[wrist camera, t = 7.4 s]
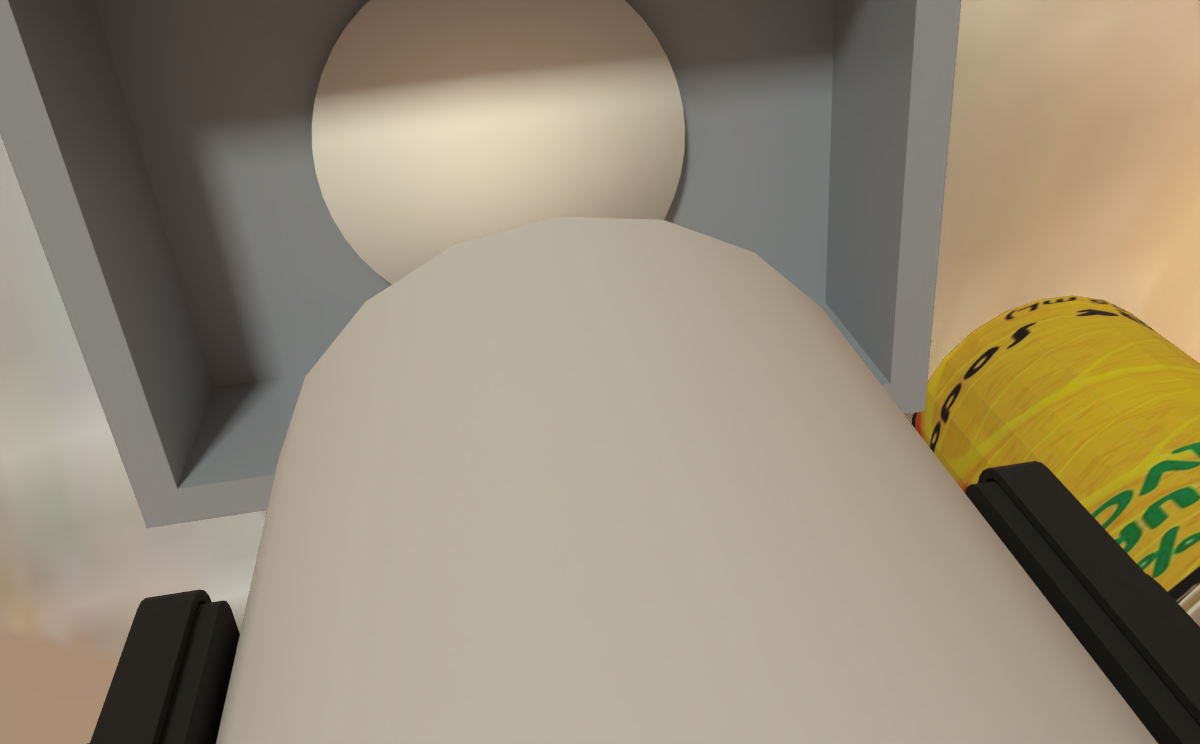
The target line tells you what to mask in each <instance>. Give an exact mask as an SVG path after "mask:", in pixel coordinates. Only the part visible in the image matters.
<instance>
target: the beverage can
mask: <svg viewBox="0 0 1200 744" xmlns="http://www.w3.org/2000/svg"><path fill="white" fill-rule="evenodd" d="M912 425H913V427H914V428H915V429H916V431H917V432H918V433H919V434H920V436H921V437H922V438H923V440H924V441H925V442H926V444H927V445H928V446H929V447H930V449H931V450H932V451H933V453H934V454H935V455H936V456H937V458H938V459H939V460H940V462H941V463H942V464H943V466H944V467H945V468H946V469H947V471H948V472H949V473H950V475H951V476H952V477H953V479H954V480H955V481H956V482H957V484H958V485H959V486H960V488H961V489H962V490H963V491H964V493H965V490H966V488H967V487H968V486H969V485H971V484H977V483H978V479H979V476H980V474H981V473H982V471H983V470H985V469H987V468H992V467H999V466H1005V465H1012V464H1018V463H1025V462H1031V461H1037V462H1041V463H1043V464H1044V465H1045V466H1046V467H1048V468H1049V469H1050V471H1051V472H1052V473H1053V474H1054V475H1055V476H1056V477H1057V478H1058V479H1059V480H1060V481H1061V482H1062V484H1063V485H1064V486H1065V487H1066V488H1067V489H1068V490H1069V491H1070V492H1071V493H1072V494H1073V495H1074V496H1075V498H1076V499H1077V500H1078V501H1079V502H1080V503H1081V504H1082V505H1083V506H1084V507H1085V508H1086V509H1087V511H1088V512H1089V513H1090V514H1091V515H1092V516H1093V517H1094V518H1095V519H1096V520H1097V521H1098V522H1099V523H1100V525H1101V526H1102V527H1103V528H1104V529H1105V530H1106V531H1107V532H1108V533H1109V534H1110V535H1111V536H1112V538H1113V539H1114V540H1115V541H1116V542H1117V543H1118V544H1119V545H1120V546H1121V547H1122V548H1123V549H1124V550H1125V552H1126V553H1127V554H1128V555H1129V556H1130V557H1131V558H1132V559H1133V560H1134V561H1135V562H1136V563H1137V565H1138V566H1139V567H1140V568H1141V569H1142V570H1143V571H1144V572H1145V573H1146V574H1148V575H1150V576H1151V577H1152V578H1153V579H1154V580H1156V581H1157V582H1158V583H1159V584H1160V585H1161V586H1162V587H1163V588H1164V589H1165V590H1166V591H1167V592H1168V593H1169V594H1170V595H1171V596H1172V597H1173V599H1174V600H1175V601H1176V602H1177V603H1178V604H1179V605H1180V606H1181V607H1182V608H1183V609H1184V610H1185V611H1186V613H1187V614H1188V615H1189V616H1190V617H1191V618H1192V619H1193V620H1194V621H1195V622H1196V623H1197V624H1198V625H1199V626H1200V363H1198V362H1197V361H1196V360H1194V359H1193V358H1191V357H1190V356H1189V355H1187V354H1186V353H1185V352H1183V351H1182V350H1180V349H1179V348H1178V347H1176V346H1175V345H1174V344H1172V343H1171V342H1169V341H1168V340H1167V339H1165V338H1164V337H1163V336H1161V335H1160V334H1159V333H1157V332H1156V331H1154V330H1153V329H1152V328H1150V327H1149V326H1148V325H1146V324H1145V323H1143V322H1142V321H1141V320H1139V319H1138V318H1137V317H1135V316H1134V315H1132V314H1131V313H1130V312H1128V311H1126V310H1124V309H1121V308H1119V307H1117V306H1115V305H1113V304H1111V303H1109V302H1107V301H1105V300H1100V299H1093V298H1086V297H1078V296H1066V297H1058V298H1050V299H1042V300H1037V301H1034V302H1031V303H1028V304H1026V305H1023V306H1020V307H1018V308H1015V309H1012V310H1009V311H1007V312H1004V313H1002V314H1000V315H999V316H997V317H996V318H994V319H992V320H991V321H989V322H988V323H986V324H984V325H983V326H981V327H980V328H978V329H976V330H975V331H973V332H972V333H970V334H969V335H968V336H967V337H966V338H965V339H964V340H963V341H962V342H961V343H960V344H959V345H958V346H957V347H956V348H955V349H953V350H952V351H951V352H950V353H949V354H948V355H947V356H946V357H945V358H944V359H943V361H942V362H941V364H940V365H939V367H938V368H937V369H936V371H935V372H934V374H933V375H932V377H931V378H930V380H929V381H928V383H927V391H926V402H925V411H922V412H915V413H914V415H913V418H912Z"/></svg>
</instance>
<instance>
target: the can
mask: <svg viewBox="0 0 1200 744" xmlns="http://www.w3.org/2000/svg"><path fill="white" fill-rule="evenodd" d="M216 744H1158V743H1157V742H1156V740H1155V739H1154V738H1153V736H1152V735H1151V734H1150V733H1149V731H1148V730H1147V729H1146V727H1145V726H1144V725H1143V723H1142V722H1141V721H1140V720H1139V718H1138V717H1137V716H1136V714H1135V713H1134V712H1133V710H1132V709H1131V708H1130V707H1129V705H1128V704H1127V703H1126V701H1125V700H1124V699H1123V698H1122V696H1121V695H1120V694H1119V692H1118V691H1117V690H1116V688H1115V687H1114V686H1113V685H1112V683H1111V682H1110V681H1109V679H1108V678H1107V677H1106V676H1105V674H1104V673H1103V672H1102V670H1101V669H1100V668H1099V666H1098V665H1097V664H1096V663H1095V661H1094V660H1093V659H1092V657H1091V656H1090V655H1089V653H1088V652H1087V651H1086V650H1085V648H1084V647H1083V646H1082V644H1081V643H1080V642H1079V641H1078V639H1077V638H1076V637H1075V635H1074V634H1073V633H1072V631H1071V630H1070V629H1069V628H1068V626H1067V625H1066V624H1065V622H1064V621H1063V620H1062V618H1061V617H1060V616H1059V615H1058V613H1057V612H1056V611H1055V609H1054V608H1053V607H1052V606H1051V604H1050V603H1049V602H1048V600H1047V599H1046V598H1045V596H1044V595H1043V594H1042V593H1041V591H1040V590H1039V589H1038V587H1037V586H1036V585H1035V583H1034V582H1033V581H1032V580H1031V578H1030V577H1029V576H1028V574H1027V573H1026V572H1025V571H1024V569H1023V568H1022V567H1021V565H1020V564H1019V563H1018V561H1017V560H1016V559H1015V558H1014V556H1013V555H1012V554H1011V552H1010V551H1009V550H1008V548H1007V547H1006V546H1005V545H1004V543H1003V542H1002V541H1001V539H1000V538H999V537H998V536H997V534H996V533H995V532H994V530H993V529H992V528H991V526H990V525H989V524H988V523H987V521H986V520H985V519H984V517H983V516H982V515H981V514H980V512H979V511H978V510H977V508H976V507H975V506H974V504H973V503H972V502H971V501H970V499H969V498H968V497H967V495H966V494H965V493H964V491H963V490H962V489H961V488H960V486H959V485H958V484H957V482H956V481H955V480H954V479H953V477H952V476H951V475H950V473H949V472H948V471H947V469H946V468H945V467H944V466H943V464H942V463H941V462H940V460H939V459H938V458H937V456H936V455H935V454H934V453H933V451H932V450H931V449H930V447H929V446H928V445H927V444H926V442H925V441H924V440H923V438H922V437H921V436H920V434H919V433H918V432H917V431H916V429H915V428H914V427H913V425H912V424H911V423H910V421H909V420H908V419H907V418H906V416H905V415H904V414H903V412H902V411H901V410H900V409H899V407H898V406H897V405H896V403H895V402H894V401H893V399H892V398H891V397H890V396H889V394H888V393H887V392H886V390H885V389H884V388H883V387H882V385H881V384H880V383H879V381H878V380H877V379H876V377H875V376H874V375H873V374H872V372H871V371H870V370H869V368H868V367H867V366H866V364H865V363H864V362H863V361H862V359H861V358H860V357H859V355H858V354H857V353H856V352H855V350H854V349H853V348H852V346H851V345H850V344H849V342H848V341H847V340H846V339H845V337H844V336H843V335H842V333H841V332H840V331H839V329H838V328H837V327H836V326H835V324H834V323H833V322H832V320H831V319H830V318H829V317H828V315H827V314H826V313H825V311H824V310H823V309H822V308H821V307H820V306H819V305H818V304H816V303H815V302H814V301H813V300H812V299H810V298H809V297H808V296H807V295H805V294H804V293H803V292H802V291H801V290H799V289H798V288H797V287H796V286H795V285H793V284H792V283H791V282H790V281H788V280H787V279H786V278H785V277H784V276H782V275H781V274H780V273H779V272H778V271H776V270H775V269H774V268H773V267H771V266H770V265H769V264H768V263H767V262H765V261H764V260H763V259H762V258H761V257H759V256H758V255H757V254H756V253H754V252H752V251H749V250H746V249H743V248H741V247H738V246H735V245H732V244H729V243H726V242H724V241H721V240H718V239H715V238H712V237H710V236H707V235H704V234H701V233H698V232H696V231H693V230H690V229H687V228H684V227H682V226H679V225H676V224H673V223H670V222H668V221H665V220H655V219H620V218H584V217H555V218H551V219H547V220H544V221H540V222H537V223H533V224H529V225H526V226H522V227H518V228H515V229H511V230H508V231H504V232H500V233H497V234H493V235H489V236H486V237H482V238H479V239H475V240H471V241H468V242H464V243H460V244H457V245H453V246H452V247H450V248H449V249H447V250H446V251H444V252H442V253H441V254H439V255H438V256H436V257H435V258H433V259H431V260H430V261H428V262H427V263H425V264H424V265H422V266H421V267H419V268H417V269H416V270H414V271H413V272H411V273H410V274H408V275H407V276H405V277H403V278H402V279H400V280H399V281H397V282H396V283H394V284H392V285H391V286H389V287H388V288H386V289H385V290H383V291H382V292H380V293H378V294H377V295H375V296H374V297H372V298H371V299H369V300H368V301H366V302H365V303H364V304H363V306H362V307H361V308H360V309H359V311H358V312H357V313H356V314H355V316H354V317H353V318H352V319H351V320H350V322H349V323H348V324H347V325H346V327H345V328H344V329H343V330H342V332H341V333H340V334H339V335H338V337H337V338H336V339H335V340H334V342H333V343H332V344H331V345H330V347H329V348H328V349H327V350H326V352H325V353H324V354H323V355H322V357H321V358H320V359H319V360H318V362H317V363H316V364H315V365H314V367H313V368H312V369H311V370H310V372H309V373H308V374H307V375H306V377H305V379H304V382H303V385H302V389H301V392H300V395H299V398H298V401H297V404H296V407H295V410H294V413H293V416H292V419H291V422H290V425H289V428H288V432H287V435H286V438H285V441H284V444H283V447H282V450H281V453H280V456H279V459H278V464H277V468H276V473H275V477H274V482H273V486H272V491H271V495H270V500H269V504H268V509H267V514H266V518H265V523H264V527H263V532H262V536H261V541H260V545H259V550H258V554H257V559H256V564H255V568H254V573H253V577H252V582H251V586H250V591H249V595H248V600H247V604H246V609H245V614H244V618H243V623H242V627H241V632H240V636H239V641H238V645H237V650H236V654H235V659H234V664H233V668H232V673H231V677H230V682H229V686H228V691H227V695H226V700H225V704H224V709H223V714H222V718H221V723H220V727H219V732H218V736H217V741H216Z"/></svg>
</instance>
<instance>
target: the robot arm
mask: <svg viewBox="0 0 1200 744" xmlns="http://www.w3.org/2000/svg"><path fill="white" fill-rule="evenodd" d="M965 494H966V495H967V497H968V498H969V499H970V501H971V502H972V503H973V504H974V506H975V507H976V508H977V510H978V511H979V512H980V514H981V515H982V516H983V517H984V519H985V520H986V521H987V523H988V524H989V525H990V526H991V528H992V529H993V530H994V532H995V533H996V534H997V536H998V537H999V538H1000V539H1001V541H1002V542H1003V543H1004V545H1005V546H1006V547H1007V548H1008V550H1009V551H1010V552H1011V554H1012V555H1013V556H1014V558H1015V559H1016V560H1017V561H1018V563H1019V564H1020V565H1021V567H1022V568H1023V569H1024V571H1025V572H1026V573H1027V574H1028V576H1029V577H1030V578H1031V580H1032V581H1033V582H1034V583H1035V585H1036V586H1037V587H1038V589H1039V590H1040V591H1041V593H1042V594H1043V595H1044V596H1045V598H1046V599H1047V600H1048V602H1049V603H1050V604H1051V606H1052V607H1053V608H1054V609H1055V611H1056V612H1057V613H1058V615H1059V616H1060V617H1061V618H1062V620H1063V621H1064V622H1065V624H1066V625H1067V626H1068V628H1069V629H1070V630H1071V631H1072V633H1073V634H1074V635H1075V637H1076V638H1077V639H1078V641H1079V642H1080V643H1081V644H1082V646H1083V647H1084V648H1085V650H1086V651H1087V652H1088V653H1089V655H1090V656H1091V657H1092V659H1093V660H1094V661H1095V663H1096V664H1097V665H1098V666H1099V668H1100V669H1101V670H1102V672H1103V673H1104V674H1105V676H1106V677H1107V678H1108V679H1109V681H1110V682H1111V683H1112V685H1113V686H1114V687H1115V688H1116V690H1117V691H1118V692H1119V694H1120V695H1121V696H1122V698H1123V699H1124V700H1125V701H1126V703H1127V704H1128V705H1129V707H1130V708H1131V709H1132V710H1133V712H1134V713H1135V714H1136V716H1137V717H1138V718H1139V720H1140V721H1141V722H1142V723H1143V725H1144V726H1145V727H1146V729H1147V730H1148V731H1149V733H1150V734H1151V735H1152V736H1153V738H1154V739H1155V740H1156V742H1157V743H1158V744H1200V626H1199V625H1198V624H1197V623H1196V622H1195V621H1194V620H1193V619H1192V618H1191V617H1190V616H1189V615H1188V614H1187V613H1186V611H1185V610H1184V609H1183V608H1182V607H1181V606H1180V605H1179V604H1178V603H1177V602H1176V601H1175V600H1174V599H1173V597H1172V596H1171V595H1170V594H1169V593H1168V592H1167V591H1166V590H1165V589H1164V588H1163V587H1162V586H1161V585H1160V584H1159V583H1158V582H1157V581H1156V580H1154V579H1153V578H1152V577H1151V576H1150V575H1148V574H1146V573H1145V572H1144V571H1143V570H1142V569H1141V568H1140V567H1139V566H1138V565H1137V563H1136V562H1135V561H1134V560H1133V559H1132V558H1131V557H1130V556H1129V555H1128V554H1127V553H1126V552H1125V550H1124V549H1123V548H1122V547H1121V546H1120V545H1119V544H1118V543H1117V542H1116V541H1115V540H1114V539H1113V538H1112V536H1111V535H1110V534H1109V533H1108V532H1107V531H1106V530H1105V529H1104V528H1103V527H1102V526H1101V525H1100V523H1099V522H1098V521H1097V520H1096V519H1095V518H1094V517H1093V516H1092V515H1091V514H1090V513H1089V512H1088V511H1087V509H1086V508H1085V507H1084V506H1083V505H1082V504H1081V503H1080V502H1079V501H1078V500H1077V499H1076V498H1075V496H1074V495H1073V494H1072V493H1071V492H1070V491H1069V490H1068V489H1067V488H1066V487H1065V486H1064V485H1063V484H1062V482H1061V481H1060V480H1059V479H1058V478H1057V477H1056V476H1055V475H1054V474H1053V473H1052V472H1051V471H1050V469H1049V468H1048V467H1046V466H1045V465H1044V464H1043V463H1041V462H1037V461H1031V462H1025V463H1018V464H1012V465H1005V466H999V467H992V468H987V469H985V470H983V471H982V473H981V474H980V476H979V479H978V483H977V484H971V485H969V486H968V487H967V488H966V490H965ZM239 636H240V634H239V631H238V628H237V625H236V622H235V619H234V616H233V613H232V610H231V608H230V606H229V604H228V603H227V602H226V601H218V602H211V599H210V597H209V595H208V594H207V593H206V592H205V591H204V590H195V591H188V592H182V593H175V594H169V595H162V596H156V597H149V598H145V599H144V600H143V601H141V603H140V605H139V607H138V609H137V612H136V615H135V618H134V620H133V623H132V626H131V629H130V632H129V635H128V637H127V640H126V643H125V646H124V649H123V651H122V654H121V657H120V660H119V663H118V666H117V668H116V671H115V674H114V677H113V680H112V682H111V686H110V688H109V691H108V694H107V697H106V699H105V702H104V705H103V708H102V711H101V714H100V716H99V719H98V722H97V725H96V728H95V730H94V733H93V736H92V739H91V742H90V743H89V744H216V741H217V736H218V732H219V727H220V723H221V718H222V714H223V709H224V704H225V700H226V695H227V691H228V686H229V682H230V677H231V673H232V668H233V664H234V659H235V654H236V650H237V645H238V641H239Z"/></svg>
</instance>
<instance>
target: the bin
mask: <svg viewBox="0 0 1200 744" xmlns="http://www.w3.org/2000/svg"><path fill="white" fill-rule="evenodd" d="M960 9H961V0H0V134H1V137H2V140H3V142H4V145H5V148H6V150H7V153H8V156H9V158H10V161H11V164H12V166H13V169H14V172H15V174H16V177H17V180H18V182H19V185H20V188H21V191H22V193H23V196H24V199H25V201H26V204H27V207H28V209H29V212H30V215H31V217H32V220H33V223H34V225H35V228H36V231H37V233H38V236H39V239H40V242H41V244H42V247H43V250H44V252H45V255H46V258H47V260H48V263H49V266H50V268H51V271H52V274H53V276H54V279H55V282H56V284H57V287H58V290H59V293H60V295H61V298H62V301H63V303H64V306H65V309H66V311H67V314H68V317H69V319H70V322H71V325H72V327H73V330H74V333H75V335H76V338H77V341H78V344H79V346H80V349H81V352H82V354H83V357H84V360H85V362H86V365H87V368H88V370H89V373H90V376H91V378H92V381H93V384H94V386H95V389H96V392H97V395H98V397H99V400H100V403H101V405H102V408H103V411H104V413H105V416H106V419H107V421H108V424H109V427H110V429H111V432H112V435H113V437H114V440H115V443H116V446H117V448H118V451H119V454H120V456H121V459H122V462H123V464H124V467H125V470H126V472H127V475H128V478H129V480H130V483H131V486H132V488H133V491H134V494H135V497H136V499H137V502H138V505H139V507H140V510H141V513H142V515H143V518H144V521H145V523H146V526H147V528H151V527H157V526H164V525H171V524H177V523H184V522H191V521H197V520H204V519H211V518H217V517H224V516H231V515H237V514H244V513H250V512H257V511H264V510H267V509H268V504H269V500H270V495H271V491H272V486H273V482H274V477H275V473H276V468H277V464H278V459H279V456H280V453H281V450H282V447H283V444H284V441H285V438H286V435H287V432H288V428H289V425H290V422H291V419H292V416H293V413H294V410H295V407H296V404H297V401H298V398H299V395H300V392H301V389H302V385H303V382H304V379H305V377H306V375H307V374H308V373H309V372H310V370H311V369H312V368H313V367H314V365H315V364H316V363H317V362H318V360H319V359H320V358H321V357H322V355H323V354H324V353H325V352H326V350H327V349H328V348H329V347H330V345H331V344H332V343H333V342H334V340H335V339H336V338H337V337H338V335H339V334H340V333H341V332H342V330H343V329H344V328H345V327H346V325H347V324H348V323H349V322H350V320H351V319H352V318H353V317H354V316H355V314H356V313H357V312H358V311H359V309H360V308H361V307H362V306H363V304H364V303H365V302H366V301H368V300H369V299H371V298H372V297H374V296H375V295H377V294H378V293H380V292H382V291H383V290H385V289H386V288H388V287H389V286H391V285H392V284H394V283H396V282H397V281H399V280H400V279H402V278H403V277H405V276H407V275H408V274H410V273H411V272H413V271H414V270H416V269H417V268H419V267H421V266H422V265H424V264H425V263H427V262H428V261H430V260H431V259H433V258H435V257H436V256H438V255H439V254H441V253H442V252H444V251H446V250H447V249H449V248H450V247H452V246H453V245H457V244H460V243H464V242H468V241H471V240H475V239H479V238H482V237H486V236H489V235H493V234H497V233H500V232H504V231H508V230H511V229H515V228H518V227H522V226H526V225H529V224H533V223H537V222H540V221H544V220H547V219H551V218H555V217H584V218H620V219H655V220H665V221H668V222H670V223H673V224H676V225H679V226H682V227H684V228H687V229H690V230H693V231H696V232H698V233H701V234H704V235H707V236H710V237H712V238H715V239H718V240H721V241H724V242H726V243H729V244H732V245H735V246H738V247H741V248H743V249H746V250H749V251H752V252H754V253H756V254H757V255H758V256H759V257H761V258H762V259H763V260H764V261H765V262H767V263H768V264H769V265H770V266H771V267H773V268H774V269H775V270H776V271H778V272H779V273H780V274H781V275H782V276H784V277H785V278H786V279H787V280H788V281H790V282H791V283H792V284H793V285H795V286H796V287H797V288H798V289H799V290H801V291H802V292H803V293H804V294H805V295H807V296H808V297H809V298H810V299H812V300H813V301H814V302H815V303H816V304H818V305H819V306H820V307H821V308H822V309H823V310H824V311H825V313H826V314H827V315H828V317H829V318H830V319H831V320H832V322H833V323H834V324H835V326H836V327H837V328H838V329H839V331H840V332H841V333H842V335H843V336H844V337H845V339H846V340H847V341H848V342H849V344H850V345H851V346H852V348H853V349H854V350H855V352H856V353H857V354H858V355H859V357H860V358H861V359H862V361H863V362H864V363H865V364H866V366H867V367H868V368H869V370H870V371H871V372H872V374H873V375H874V376H875V377H876V379H877V380H878V381H879V383H880V384H881V385H882V387H883V388H884V389H885V390H886V392H887V393H888V394H889V396H890V397H891V398H892V399H893V401H894V402H895V403H896V405H897V406H898V407H899V409H900V410H901V411H902V412H903V414H909V413H915V412H922V411H925V402H926V391H927V379H928V368H929V357H930V346H931V334H932V323H933V312H934V301H935V289H936V278H937V267H938V256H939V245H940V233H941V222H942V211H943V200H944V188H945V177H946V166H947V155H948V143H949V132H950V121H951V110H952V98H953V87H954V76H955V65H956V54H957V42H958V31H959V20H960Z"/></svg>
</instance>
